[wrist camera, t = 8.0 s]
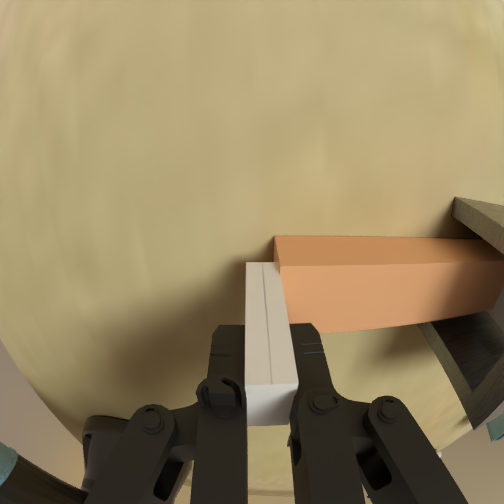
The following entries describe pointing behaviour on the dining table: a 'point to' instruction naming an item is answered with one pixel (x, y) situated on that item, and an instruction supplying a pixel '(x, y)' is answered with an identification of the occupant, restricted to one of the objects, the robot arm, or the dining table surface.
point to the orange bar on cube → (387, 280)
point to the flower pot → (496, 428)
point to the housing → (473, 331)
